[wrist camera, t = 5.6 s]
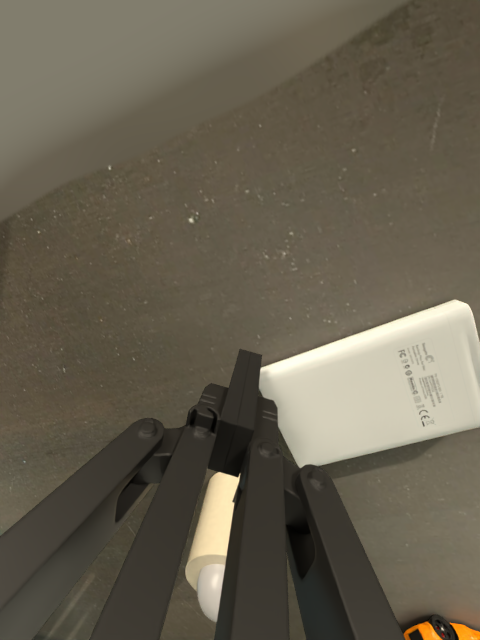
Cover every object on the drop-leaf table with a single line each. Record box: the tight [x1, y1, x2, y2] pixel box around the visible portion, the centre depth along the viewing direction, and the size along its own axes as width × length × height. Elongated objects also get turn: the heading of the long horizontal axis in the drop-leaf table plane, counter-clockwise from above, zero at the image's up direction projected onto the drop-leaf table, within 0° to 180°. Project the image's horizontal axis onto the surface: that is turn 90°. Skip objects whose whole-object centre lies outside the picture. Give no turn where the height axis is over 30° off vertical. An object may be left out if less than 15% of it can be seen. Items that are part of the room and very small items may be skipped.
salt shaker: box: [185, 472, 240, 623], centre depth 19 cm, size 5×5×8 cm
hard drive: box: [259, 300, 480, 468], centre depth 17 cm, size 2×8×12 cm
